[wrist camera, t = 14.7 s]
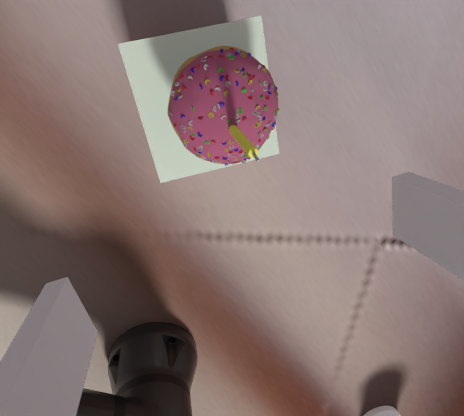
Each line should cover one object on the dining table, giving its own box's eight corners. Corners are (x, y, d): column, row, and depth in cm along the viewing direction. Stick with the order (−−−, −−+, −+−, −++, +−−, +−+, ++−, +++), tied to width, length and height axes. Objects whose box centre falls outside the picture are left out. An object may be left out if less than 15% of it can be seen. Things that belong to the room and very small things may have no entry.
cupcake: (256, 146, 30) (321, 187, 20) (169, 155, 28) (189, 206, 18) (256, 48, 27) (334, 33, 16) (156, 50, 25) (171, 36, 14)
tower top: (161, 166, 35) (160, 182, 30) (126, 49, 30) (117, 44, 25) (262, 142, 36) (279, 153, 31) (244, 26, 31) (261, 15, 26)
